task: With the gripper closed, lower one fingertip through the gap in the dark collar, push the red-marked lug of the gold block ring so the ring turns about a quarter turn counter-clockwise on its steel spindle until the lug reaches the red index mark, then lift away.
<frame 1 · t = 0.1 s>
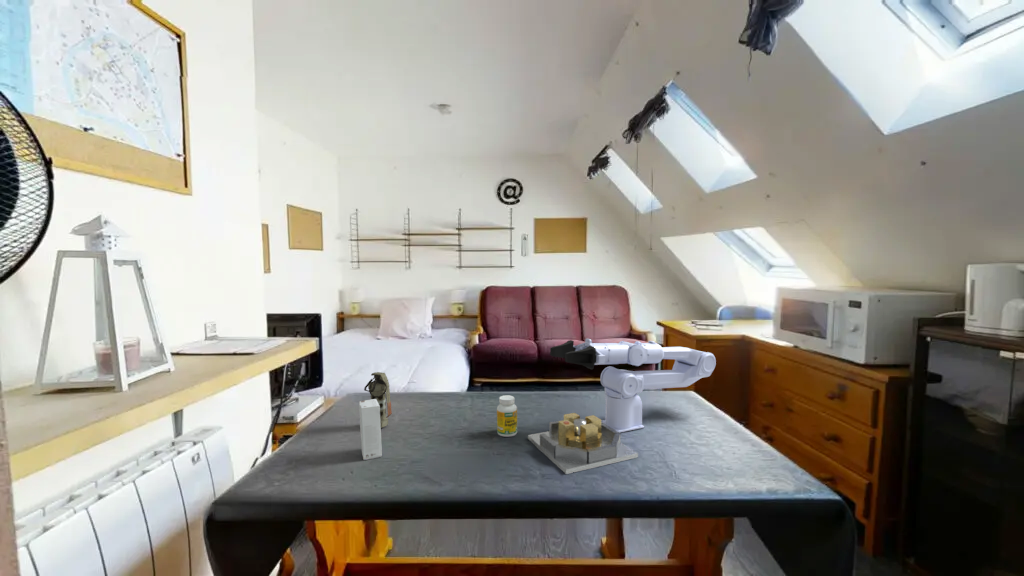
hand: (558, 354, 100), 22 cm above the table, tool horizontal, fingers open, 7 cm apart
flange plate: (579, 447, 96), on the table
skincare box: (370, 454, 93), on the table
grenade model: (379, 428, 108), on the table
supplement bottle: (507, 433, 104), on the table
gold block ring: (580, 431, 95), point 4 cm above the table, hinge at 0.0°
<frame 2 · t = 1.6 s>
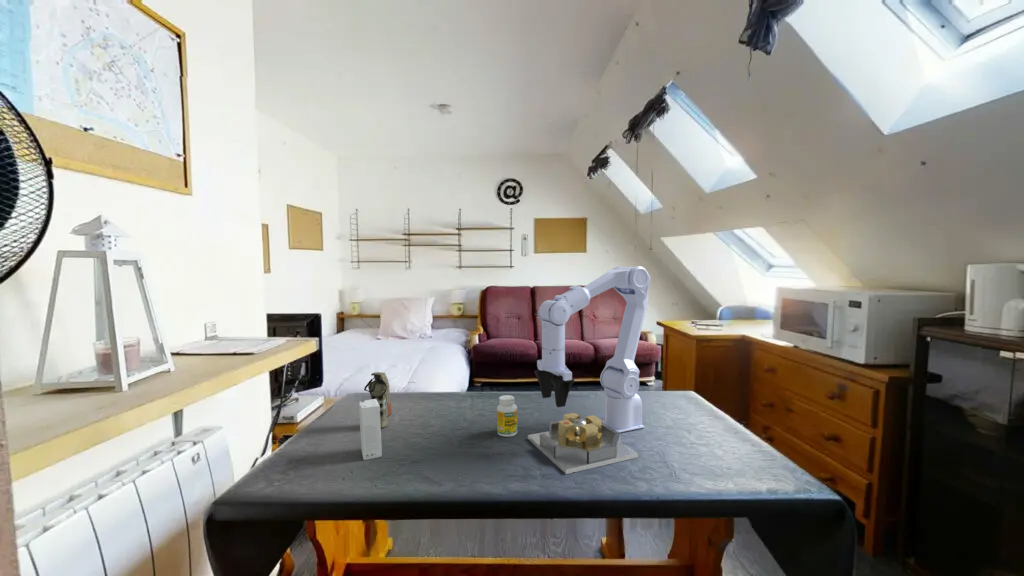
hand: (553, 401, 99), 10 cm above the table, tool pointing down, fingers open, 7 cm apart
nothing on the table moved.
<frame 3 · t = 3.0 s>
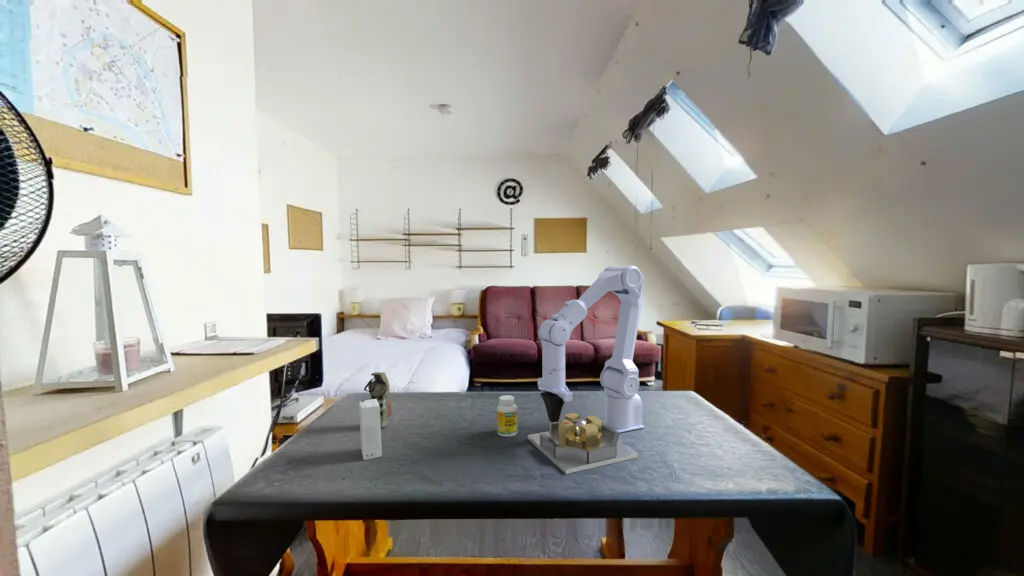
hand: (553, 421, 99), 5 cm above the table, tool pointing down, fingers closed
nothing on the table moved.
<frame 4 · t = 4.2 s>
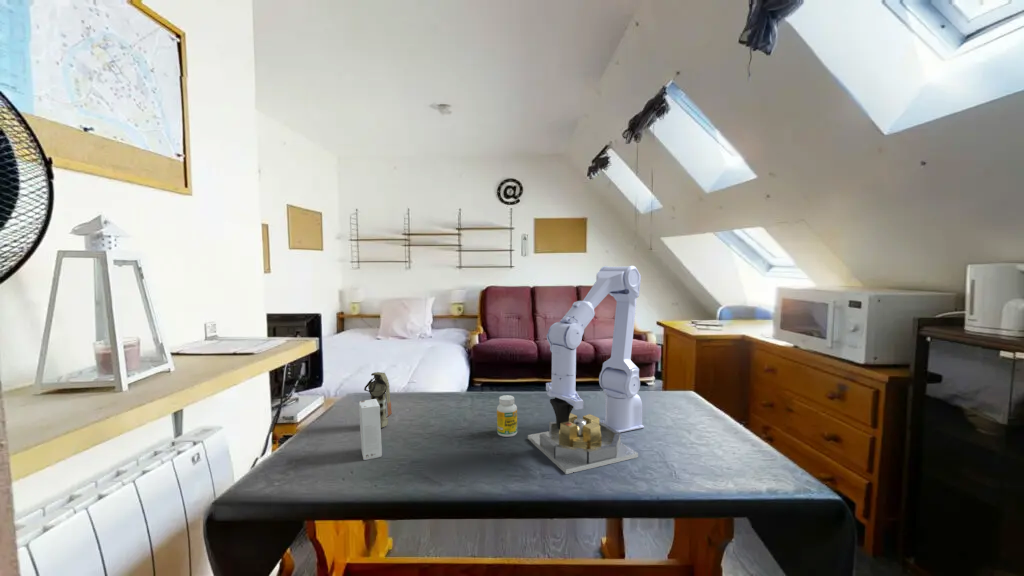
hand: (562, 428, 95), 5 cm above the table, tool pointing down, fingers closed, pressing on gold block ring
gold block ring: (580, 431, 95), point 4 cm above the table, hinge at 12.6°, touching gripper
everything else where it was.
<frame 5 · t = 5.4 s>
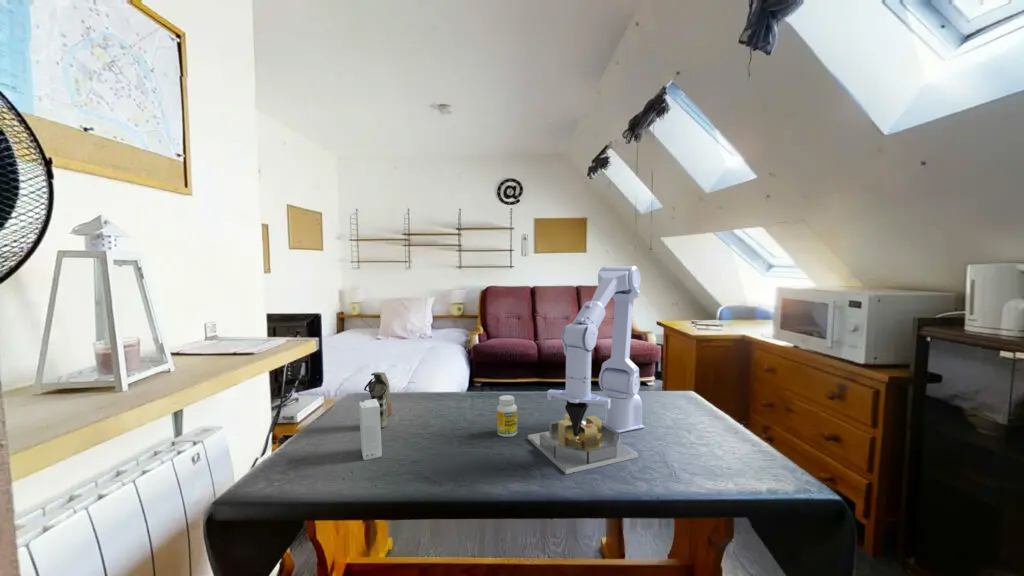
hand: (577, 434, 91), 5 cm above the table, tool pointing down, fingers closed, pressing on gold block ring
gold block ring: (580, 431, 95), point 4 cm above the table, hinge at 87.6°, touching gripper
everything else where it was.
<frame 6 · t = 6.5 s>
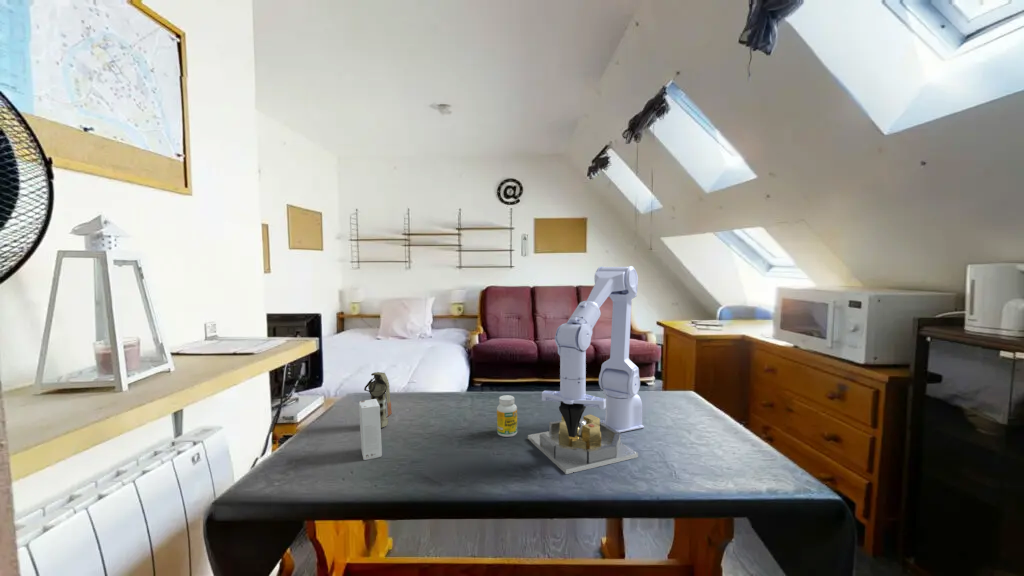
hand: (572, 435, 90), 5 cm above the table, tool pointing down, fingers closed
gold block ring: (580, 431, 95), point 4 cm above the table, hinge at 100.0°
everything else where it was.
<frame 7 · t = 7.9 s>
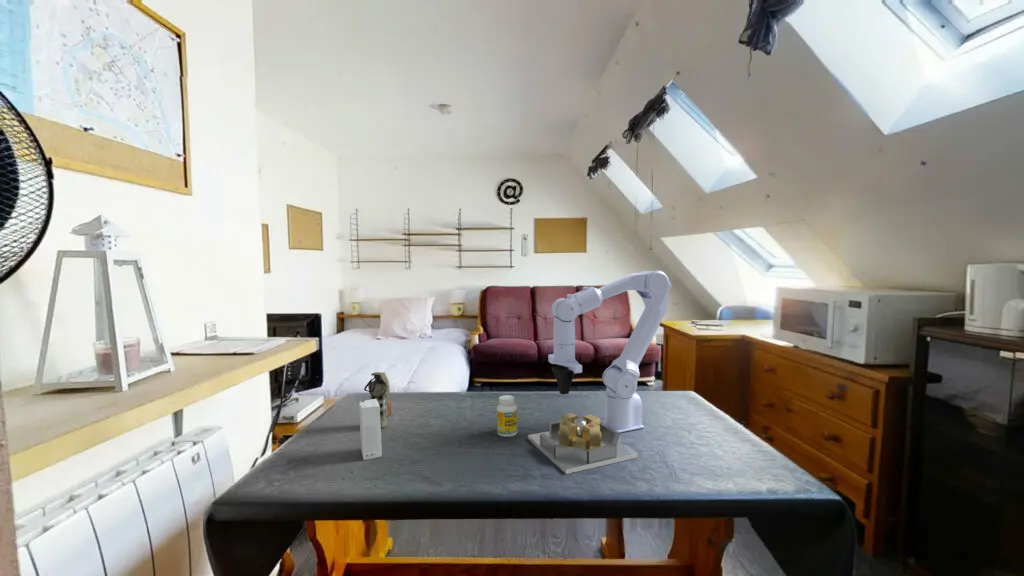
hand: (564, 393, 106), 10 cm above the table, tool pointing down, fingers closed
nothing on the table moved.
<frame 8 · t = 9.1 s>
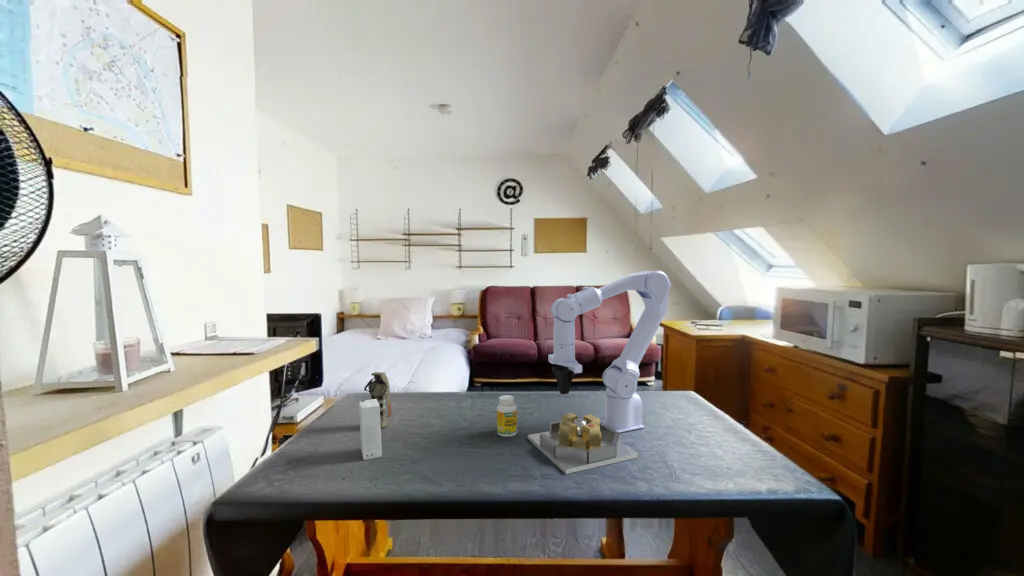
hand: (564, 393, 106), 10 cm above the table, tool pointing down, fingers closed
nothing on the table moved.
at the end: gold block ring at +100° (first picture: +0°) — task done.
